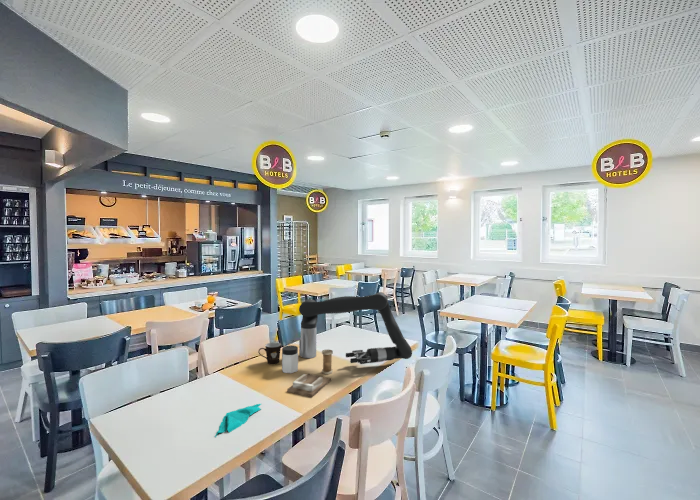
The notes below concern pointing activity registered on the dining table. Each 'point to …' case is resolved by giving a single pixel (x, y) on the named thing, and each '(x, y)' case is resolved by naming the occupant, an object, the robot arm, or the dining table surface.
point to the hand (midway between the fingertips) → (348, 358)
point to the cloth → (236, 418)
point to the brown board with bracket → (308, 384)
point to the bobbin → (327, 361)
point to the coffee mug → (272, 352)
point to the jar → (289, 359)
